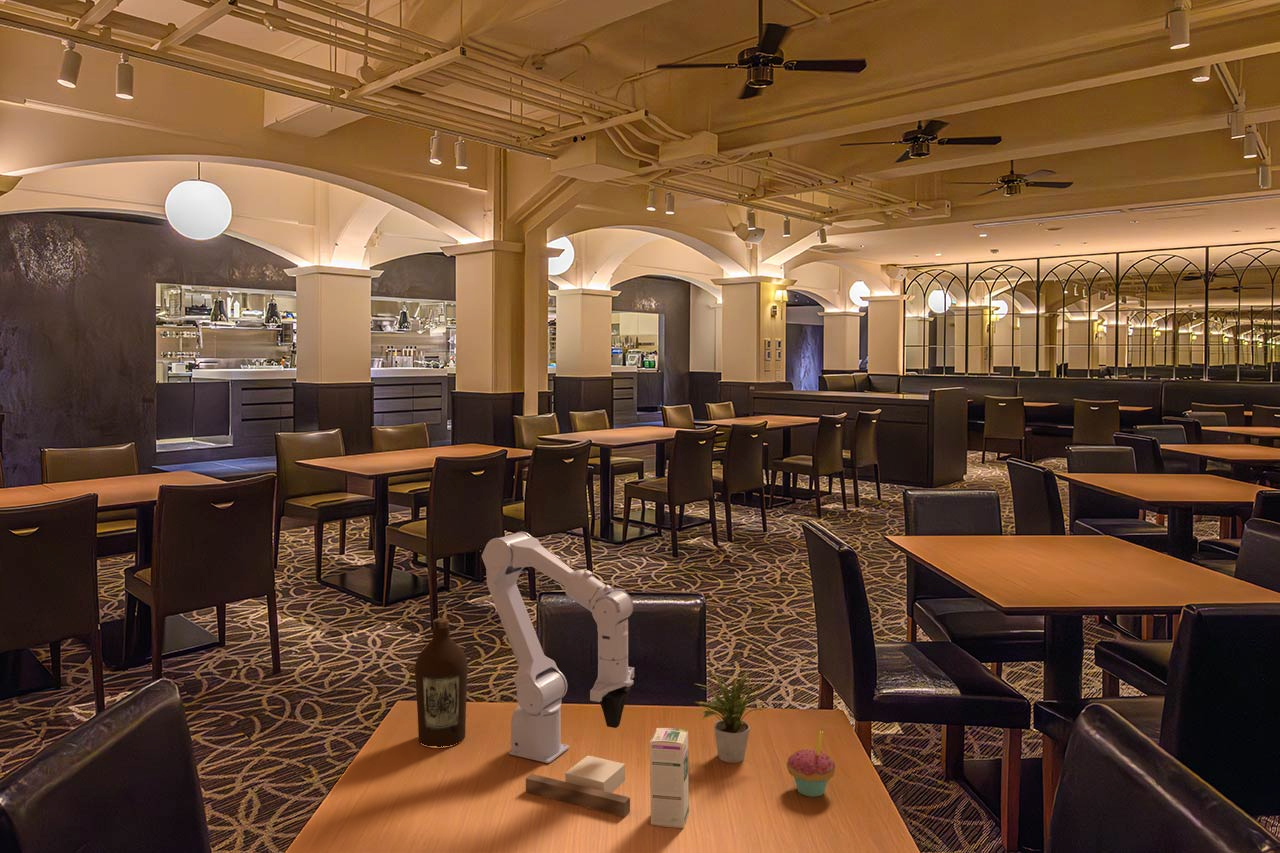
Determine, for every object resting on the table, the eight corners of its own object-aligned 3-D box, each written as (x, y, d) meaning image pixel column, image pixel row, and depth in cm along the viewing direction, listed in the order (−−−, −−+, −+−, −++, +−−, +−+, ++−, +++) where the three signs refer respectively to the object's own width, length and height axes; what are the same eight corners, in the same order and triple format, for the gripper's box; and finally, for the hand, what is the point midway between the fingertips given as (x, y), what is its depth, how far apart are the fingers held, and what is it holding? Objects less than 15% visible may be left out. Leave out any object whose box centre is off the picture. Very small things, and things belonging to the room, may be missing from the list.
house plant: (711, 733, 174) (711, 657, 173) (775, 746, 168) (775, 667, 167) (685, 761, 161) (685, 679, 161) (753, 776, 155) (753, 690, 155)
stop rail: (525, 791, 149) (525, 778, 149) (531, 787, 151) (531, 773, 151) (624, 817, 140) (624, 802, 140) (629, 811, 142) (630, 797, 142)
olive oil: (416, 731, 175) (415, 614, 174) (467, 726, 178) (466, 611, 176) (414, 752, 165) (413, 629, 164) (468, 747, 167) (467, 625, 166)
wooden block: (565, 791, 150) (565, 772, 150) (588, 773, 157) (587, 755, 157) (603, 801, 146) (603, 782, 146) (625, 782, 153) (625, 764, 153)
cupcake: (836, 784, 152) (837, 720, 152) (832, 806, 144) (832, 738, 144) (790, 776, 155) (790, 713, 155) (782, 798, 147) (783, 731, 147)
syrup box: (684, 829, 137) (684, 743, 136) (649, 825, 138) (649, 740, 137) (689, 811, 142) (689, 729, 142) (655, 808, 143) (655, 726, 143)
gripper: (614, 670, 149) (614, 744, 149) (648, 647, 162) (648, 715, 162) (580, 664, 152) (580, 737, 152) (616, 642, 165) (616, 709, 165)
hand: (613, 726), depth 158 cm, fingers closed
